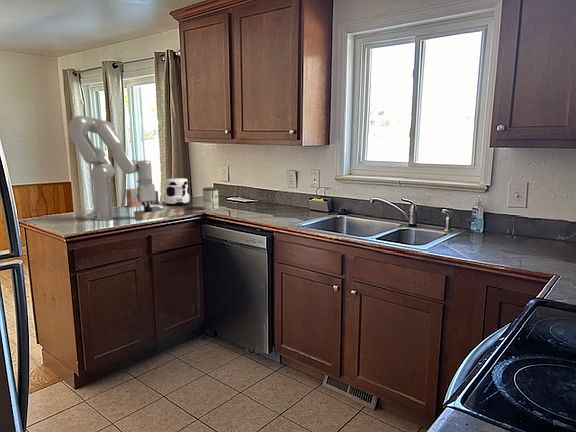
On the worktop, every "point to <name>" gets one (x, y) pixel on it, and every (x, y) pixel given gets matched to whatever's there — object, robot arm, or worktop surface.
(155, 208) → the block
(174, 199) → the milk container
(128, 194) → the stack of blocks
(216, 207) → the coffee can
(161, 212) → the lane
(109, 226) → the worktop surface
